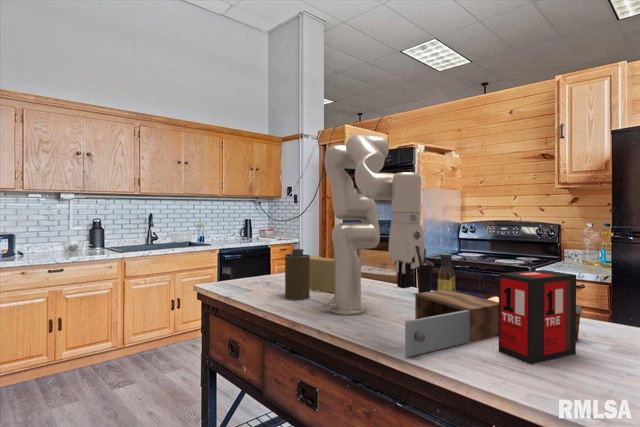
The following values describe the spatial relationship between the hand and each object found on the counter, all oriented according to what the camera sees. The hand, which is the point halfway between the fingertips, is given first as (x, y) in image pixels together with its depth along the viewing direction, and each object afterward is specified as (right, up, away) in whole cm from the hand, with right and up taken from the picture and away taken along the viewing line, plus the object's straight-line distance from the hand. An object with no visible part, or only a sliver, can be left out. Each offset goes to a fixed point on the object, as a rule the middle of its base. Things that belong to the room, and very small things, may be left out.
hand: (403, 287), depth 100 cm
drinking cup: (+22, -15, +59) cm, 65 cm away
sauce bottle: (+25, -16, +40) cm, 50 cm away
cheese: (-20, -15, +68) cm, 72 cm away
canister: (-32, -15, +55) cm, 65 cm away
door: (+9, -15, -4) cm, 18 cm away
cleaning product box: (+33, -16, -5) cm, 37 cm away
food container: (+46, -16, +8) cm, 49 cm away
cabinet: (+20, -15, +15) cm, 29 cm away
